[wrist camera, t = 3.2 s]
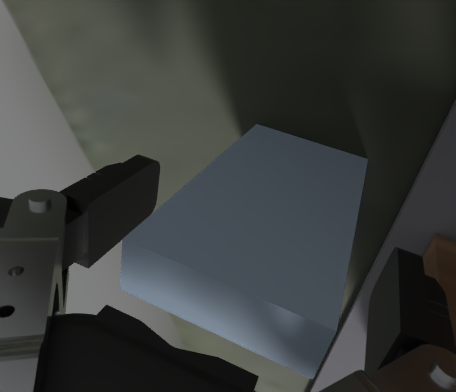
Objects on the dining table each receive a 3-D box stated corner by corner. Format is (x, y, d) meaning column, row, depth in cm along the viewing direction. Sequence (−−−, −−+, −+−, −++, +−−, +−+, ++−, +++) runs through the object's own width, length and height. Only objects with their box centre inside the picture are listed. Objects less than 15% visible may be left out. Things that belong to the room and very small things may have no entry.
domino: (256, 123, 17) (122, 238, 9) (368, 159, 16) (336, 331, 7) (249, 155, 18) (120, 289, 9) (354, 191, 17) (312, 379, 8)
